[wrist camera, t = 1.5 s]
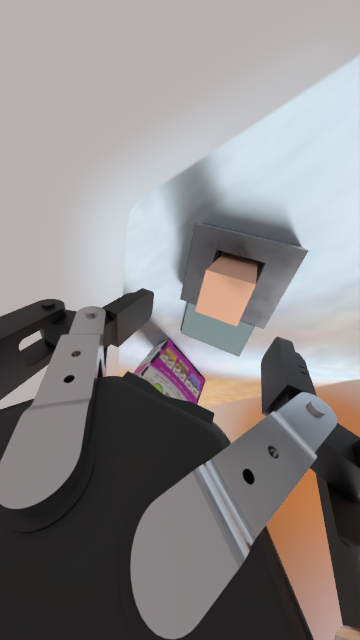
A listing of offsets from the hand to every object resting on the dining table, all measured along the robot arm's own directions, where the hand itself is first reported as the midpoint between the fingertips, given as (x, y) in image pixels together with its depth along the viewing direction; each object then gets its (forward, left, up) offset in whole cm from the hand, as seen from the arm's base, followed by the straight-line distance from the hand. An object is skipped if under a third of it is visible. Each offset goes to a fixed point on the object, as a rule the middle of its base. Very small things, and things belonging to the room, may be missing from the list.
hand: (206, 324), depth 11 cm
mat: (0, +9, -13) cm, 16 cm away
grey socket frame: (0, 0, -13) cm, 13 cm away
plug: (0, 0, -13) cm, 13 cm away
